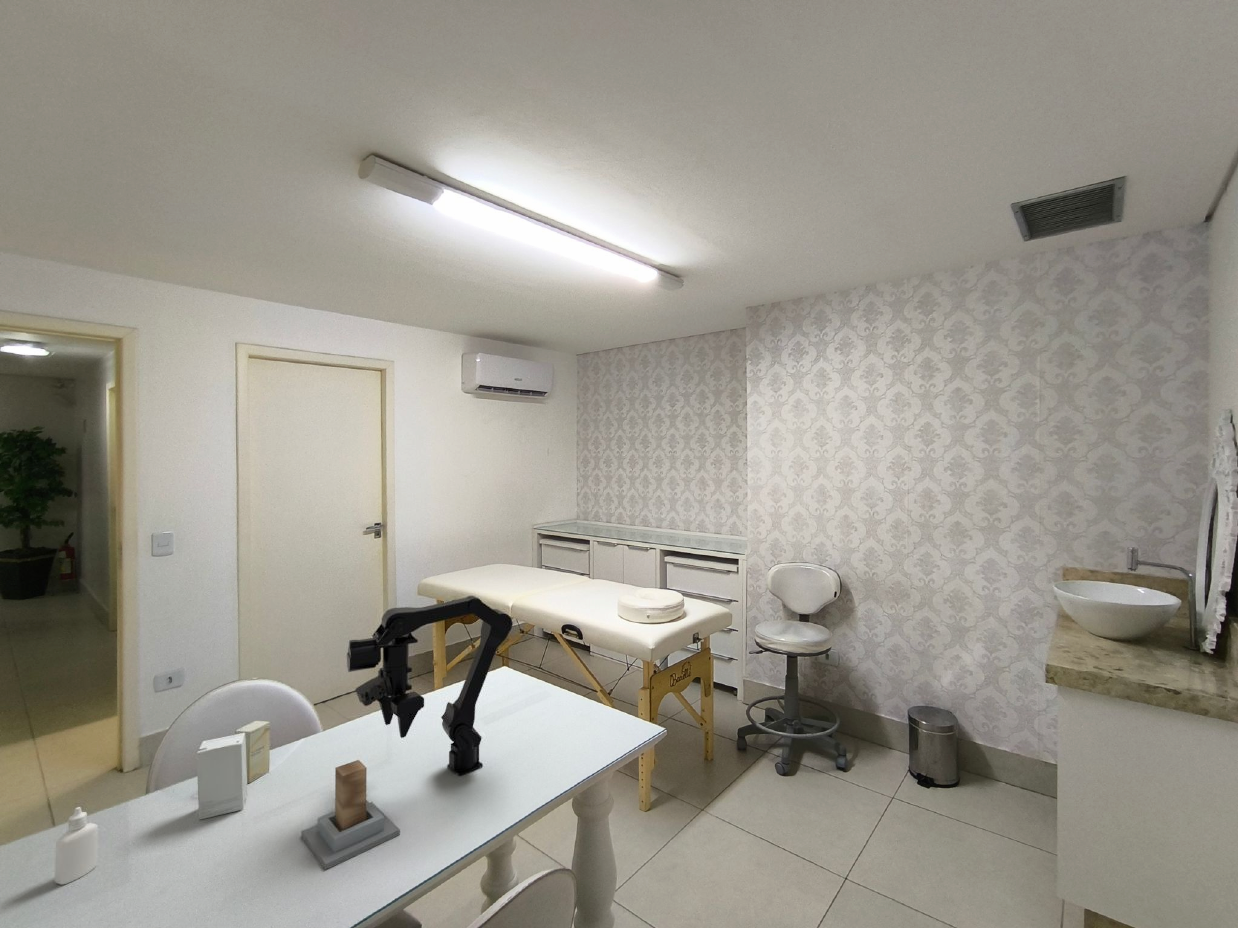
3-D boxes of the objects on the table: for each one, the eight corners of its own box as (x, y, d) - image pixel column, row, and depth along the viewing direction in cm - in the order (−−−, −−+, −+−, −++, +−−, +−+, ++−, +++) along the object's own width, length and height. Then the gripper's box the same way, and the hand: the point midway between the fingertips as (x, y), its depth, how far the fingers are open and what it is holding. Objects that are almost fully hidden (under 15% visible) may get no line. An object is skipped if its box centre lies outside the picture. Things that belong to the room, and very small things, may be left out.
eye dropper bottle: (55, 876, 101) (56, 809, 101) (97, 861, 105) (98, 796, 105) (54, 888, 98) (55, 819, 98) (98, 872, 102) (99, 806, 102)
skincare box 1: (247, 797, 126) (248, 730, 126) (242, 811, 120) (243, 742, 121) (202, 806, 122) (203, 738, 123) (195, 821, 117) (196, 750, 117)
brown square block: (358, 820, 115) (358, 759, 116) (366, 830, 112) (366, 767, 112) (335, 829, 112) (335, 767, 112) (342, 840, 109) (342, 775, 109)
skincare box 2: (248, 784, 131) (249, 732, 132) (233, 782, 132) (233, 730, 132) (270, 770, 137) (271, 721, 138) (255, 768, 138) (256, 719, 139)
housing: (371, 806, 122) (371, 790, 122) (399, 834, 112) (399, 816, 112) (301, 835, 112) (301, 818, 112) (325, 869, 102) (325, 850, 102)
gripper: (346, 661, 132) (345, 728, 131) (374, 682, 118) (374, 756, 118) (393, 651, 139) (393, 714, 139) (425, 670, 126) (425, 739, 125)
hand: (395, 730), depth 130 cm, fingers open, 9 cm apart
